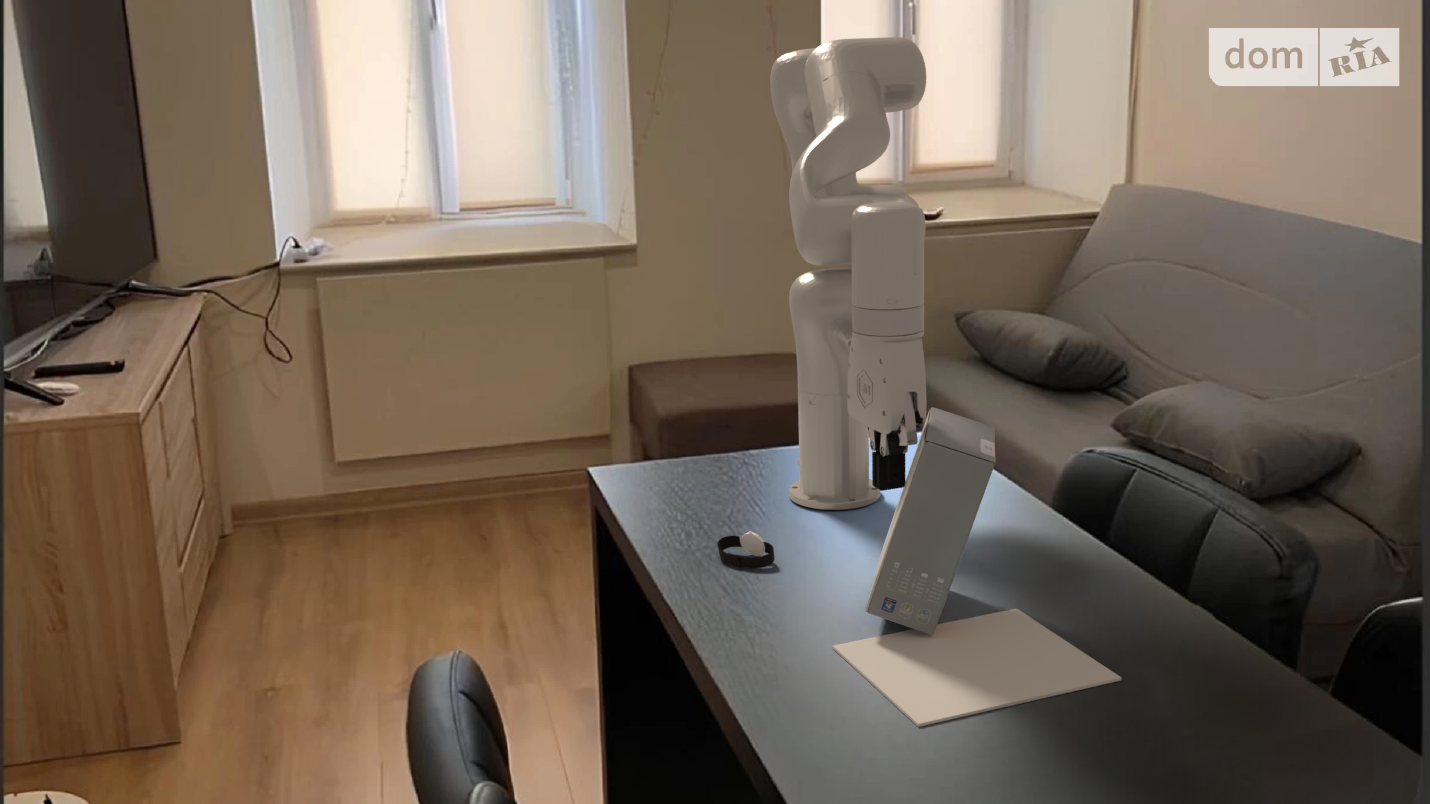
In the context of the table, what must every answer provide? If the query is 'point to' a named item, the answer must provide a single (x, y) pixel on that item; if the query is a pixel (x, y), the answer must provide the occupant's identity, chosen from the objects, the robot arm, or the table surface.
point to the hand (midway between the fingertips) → (888, 486)
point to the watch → (751, 545)
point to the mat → (972, 666)
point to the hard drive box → (932, 520)
